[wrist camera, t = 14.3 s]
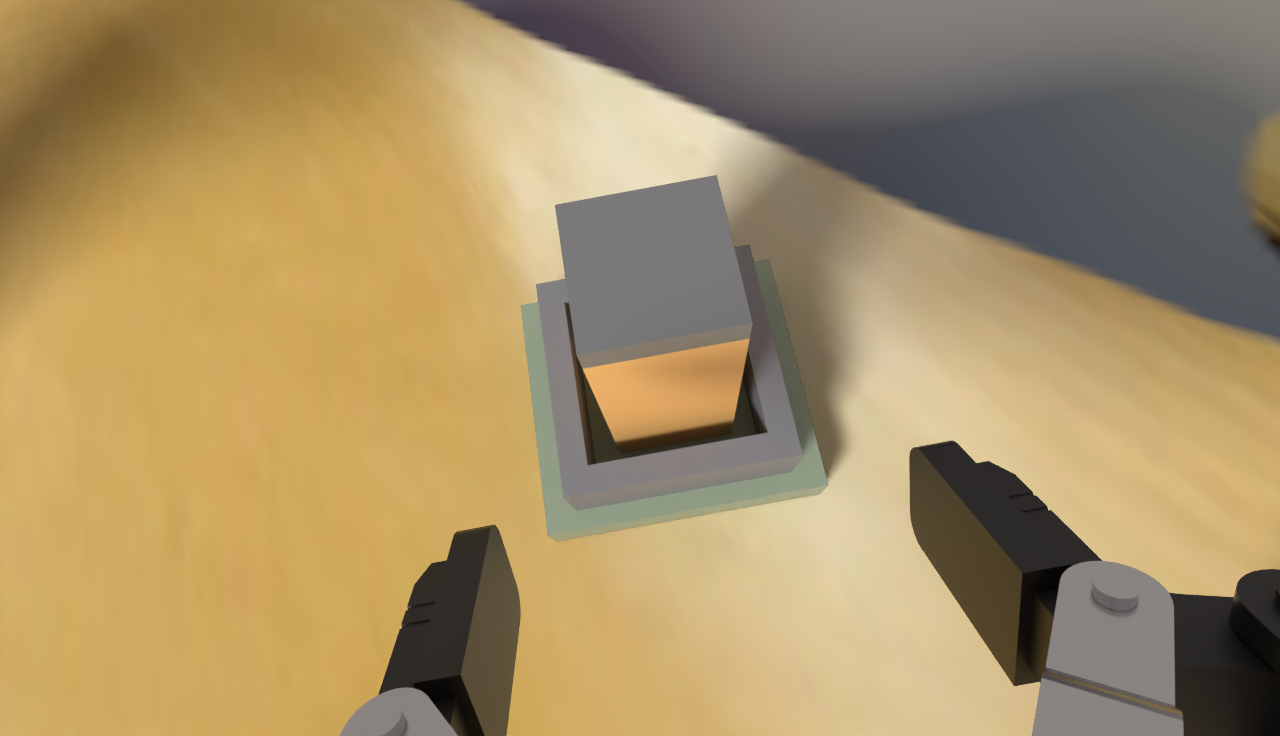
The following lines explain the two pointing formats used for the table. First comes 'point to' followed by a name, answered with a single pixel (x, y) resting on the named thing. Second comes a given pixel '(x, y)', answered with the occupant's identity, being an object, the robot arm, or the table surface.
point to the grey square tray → (678, 473)
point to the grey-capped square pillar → (657, 310)
